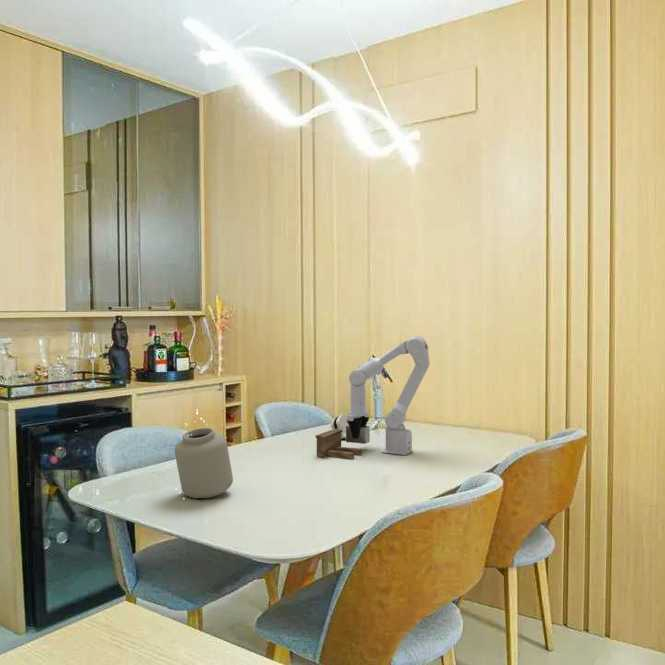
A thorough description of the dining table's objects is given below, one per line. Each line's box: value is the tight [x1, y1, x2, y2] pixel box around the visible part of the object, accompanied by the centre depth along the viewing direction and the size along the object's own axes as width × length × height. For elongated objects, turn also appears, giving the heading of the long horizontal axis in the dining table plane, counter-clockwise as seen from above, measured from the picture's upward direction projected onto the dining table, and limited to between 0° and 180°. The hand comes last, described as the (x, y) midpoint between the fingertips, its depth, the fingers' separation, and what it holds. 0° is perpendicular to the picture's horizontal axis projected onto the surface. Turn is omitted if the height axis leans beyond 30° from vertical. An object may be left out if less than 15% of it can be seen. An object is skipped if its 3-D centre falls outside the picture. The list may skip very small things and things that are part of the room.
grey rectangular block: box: [345, 425, 371, 445], centre depth 250 cm, size 8×4×6 cm, turn 63°
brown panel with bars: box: [315, 428, 363, 460], centre depth 241 cm, size 13×15×8 cm
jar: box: [174, 409, 234, 500], centre depth 189 cm, size 19×15×25 cm
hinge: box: [330, 414, 349, 440], centre depth 276 cm, size 17×5×10 cm, turn 163°
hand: (358, 437), depth 250 cm, fingers closed on grey rectangular block, 4 cm apart
